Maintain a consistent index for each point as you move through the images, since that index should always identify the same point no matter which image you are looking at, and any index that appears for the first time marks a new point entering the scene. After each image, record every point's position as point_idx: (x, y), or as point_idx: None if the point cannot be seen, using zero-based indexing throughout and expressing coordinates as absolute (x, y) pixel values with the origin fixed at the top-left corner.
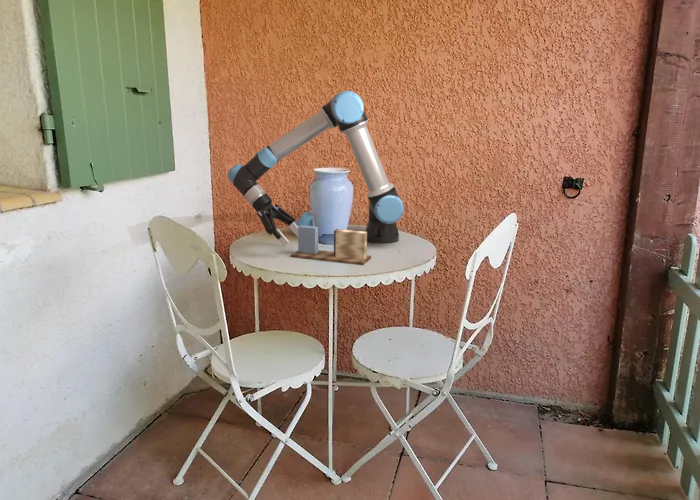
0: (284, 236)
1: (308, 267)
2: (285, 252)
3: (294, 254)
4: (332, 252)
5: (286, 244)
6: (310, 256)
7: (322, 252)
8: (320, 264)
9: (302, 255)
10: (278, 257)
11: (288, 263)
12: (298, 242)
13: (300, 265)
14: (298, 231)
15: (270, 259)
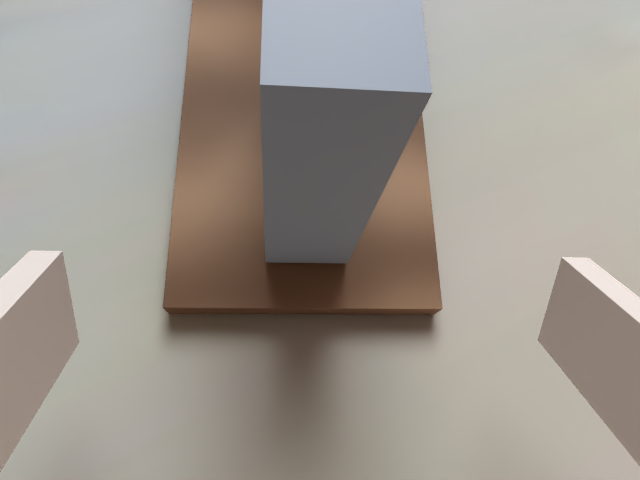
0: (631, 312)
1: (605, 77)
2: (291, 455)
3: (420, 274)
4: (217, 7)
5: (554, 305)
6: None
7: (248, 74)
8: (498, 30)
9: (418, 192)
10: (499, 427)
11: (609, 245)
12: (366, 221)
13: (598, 141)
14: (402, 142)
15: (602, 469)
